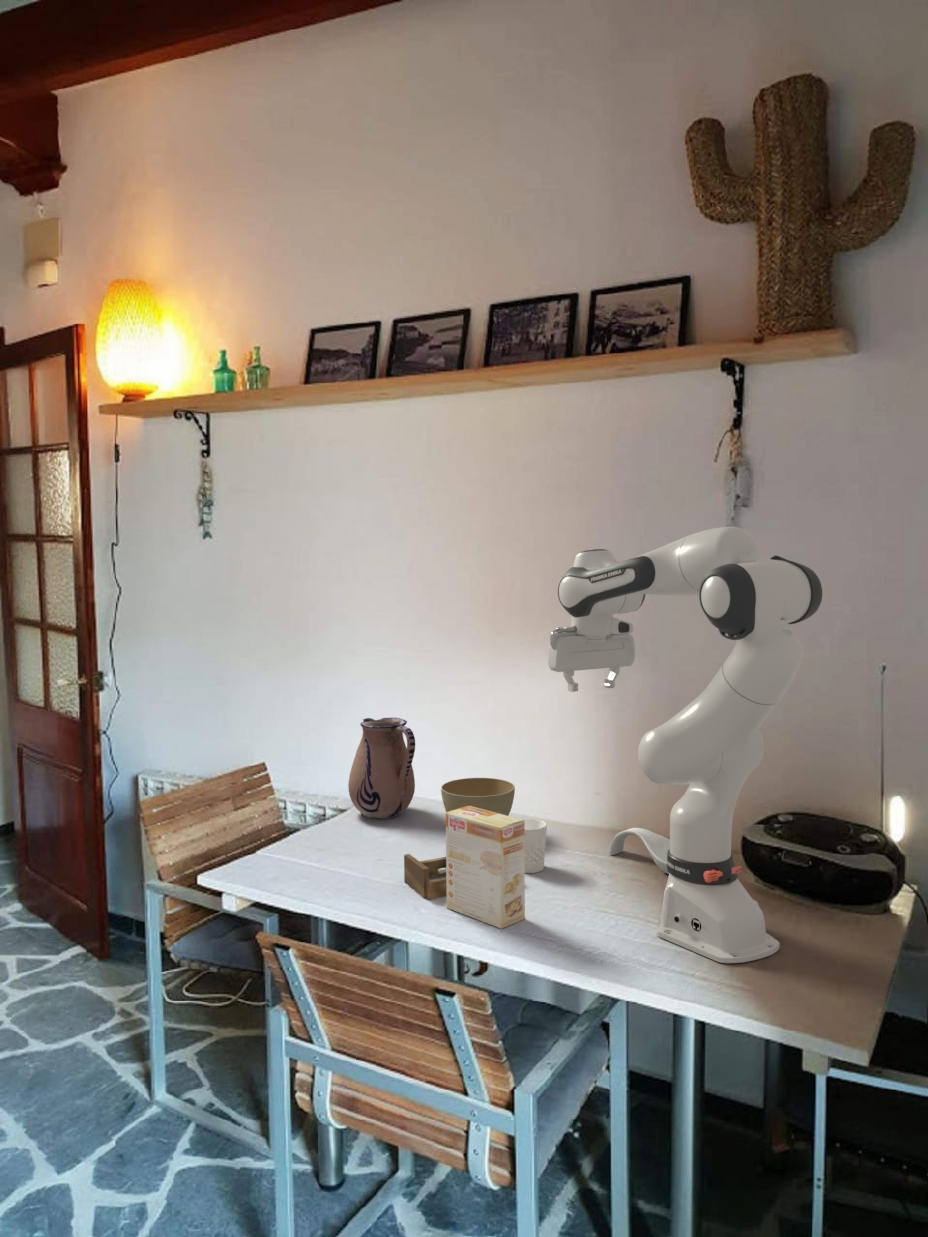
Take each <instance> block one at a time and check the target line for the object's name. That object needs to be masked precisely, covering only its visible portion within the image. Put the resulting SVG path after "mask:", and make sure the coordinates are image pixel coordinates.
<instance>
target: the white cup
mask: <svg viewBox="0 0 928 1237" xmlns="http://www.w3.org/2000/svg"><path fill="white" fill-rule="evenodd" d="M521 819H522V820H525V821H524V847H525V874H537V873H541V872H542V871H543V870H544V868H545V858H546V844H547V826H548V825H547V823H546V822H545V821H543V820H541V819H535V818H521Z"/></svg>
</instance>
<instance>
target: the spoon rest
mask: <svg viewBox="0 0 928 1237" xmlns="http://www.w3.org/2000/svg"><path fill="white" fill-rule="evenodd" d="M631 835H633V836H636V837H637V838H639V839H640V840H641V841H642V842H643V844H644V845H645V847H646V849H647V851H648V853H649V855H650V856H651V858H652V860H653V862H654V863H655V864H656V866H657V867H658V868H659V869H660V870H661V871H663V872H664V874H666V873H667V874H666V875H668V874H669V872H668V871H667V861H666V860H667V852H668V850H669V849H670V838H668V837H665V836H663V835H661V834H658V833H655V832H653V831H651V830H648V829H645V828H642V827H631V828H628V829H626V830H622V831H620V832H617V834H616V835H615V836H614V837H613V839H612V840H611V843H610V844H609V850H608V854H609V856H614V855H618V854H620V853H623V851H624V849H625V848H624V847H625V846H624V845H625V840H626V839H627V837H628V836H631Z"/></svg>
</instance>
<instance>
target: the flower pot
mask: <svg viewBox="0 0 928 1237" xmlns="http://www.w3.org/2000/svg"><path fill="white" fill-rule="evenodd" d="M515 789H516V786H515V784H514V783H513V782H510V781H509V780H505V779H500V778H494V777H466V778H457V779H453V780H449V781H447V782H445V783H443V784H442V785H441V787H440V792H441V793H440V794H441V798H442V803H443V807H444V809H445V813H446V812H449V811H452V810H456V809H459V808H462V807H466V806H472V807H476V808H480V809H484V810H488V811H491V812H495V813H499V814H503V815H506V816H510V813H511V810H512V807H513V803H514V800H515V791H516V790H515Z"/></svg>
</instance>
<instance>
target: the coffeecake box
mask: <svg viewBox="0 0 928 1237" xmlns="http://www.w3.org/2000/svg"><path fill="white" fill-rule="evenodd" d="M522 819H523V818H517V817H514V816H510V815H509V816H506V815H503V814H499V813H495V812H491V811H488V810H484V809H480V808H476V807H472V806H466V807H462V808H459V809H456V810H452V811H449V812H446V811H445V853H446V854H445V857H446V875H445V876H446V885H447V896H446V909H449V910H451V911H455V912H457V913H459V914H462V915H465V916H467V917H470V918H473V919H475V920H478V921H480V922H483V923H485V924H488V925H491V926H493V927H495V928H499V929H501V930H503V929H504V928H506V927H508V926H511V925H514V924H516V923H518V922H520V921H523V920H526V916H525V915H526V913H525V912H526V909H525V908H526V906H525V904H526V899H525V894H526V892H525V891H526V890H525V889H526V887H525V881H526V880H525V877H526V876H525V874H526V873H525V847H524V821H525V820H522Z"/></svg>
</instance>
